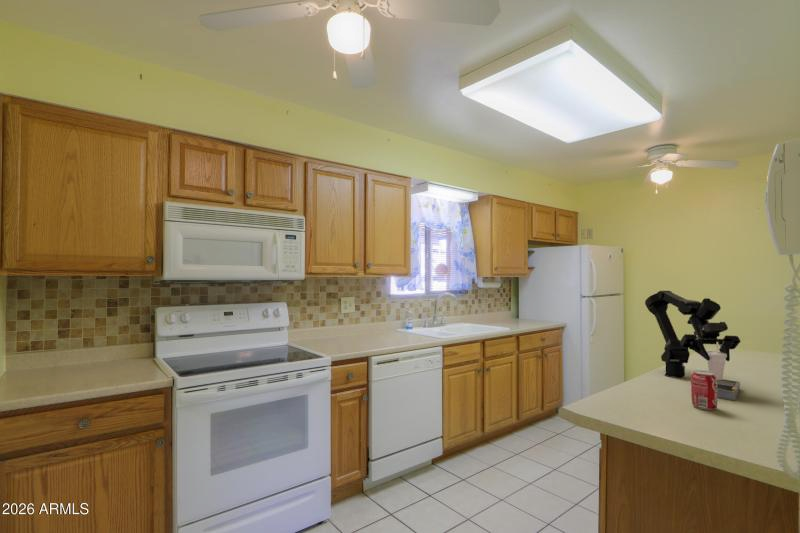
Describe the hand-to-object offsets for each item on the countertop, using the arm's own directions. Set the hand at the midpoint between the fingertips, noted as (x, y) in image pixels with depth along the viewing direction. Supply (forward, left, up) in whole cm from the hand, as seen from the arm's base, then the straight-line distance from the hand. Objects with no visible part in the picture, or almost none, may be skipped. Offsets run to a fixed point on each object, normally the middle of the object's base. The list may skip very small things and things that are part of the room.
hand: (718, 360), depth 149 cm
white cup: (-1, +1, -7) cm, 8 cm away
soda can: (-2, -21, -13) cm, 25 cm away
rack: (0, +6, -13) cm, 15 cm away
